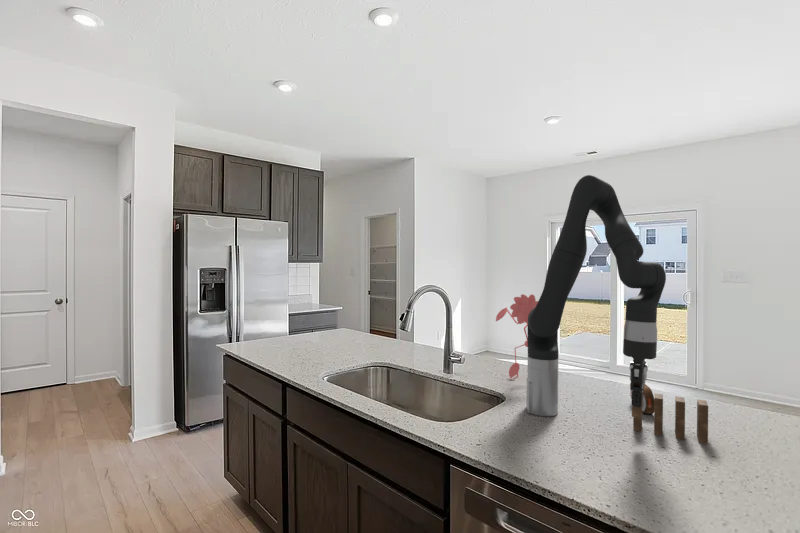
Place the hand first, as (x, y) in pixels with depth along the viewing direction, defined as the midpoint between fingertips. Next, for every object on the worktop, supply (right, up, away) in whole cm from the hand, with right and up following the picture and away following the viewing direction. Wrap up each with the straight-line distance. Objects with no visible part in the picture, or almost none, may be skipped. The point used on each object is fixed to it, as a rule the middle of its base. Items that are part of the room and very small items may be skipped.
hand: (637, 403), depth 109 cm
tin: (+17, -11, +27) cm, 34 cm away
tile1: (+6, -11, +11) cm, 16 cm away
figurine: (-12, -11, +58) cm, 60 cm away
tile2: (+10, -11, +8) cm, 17 cm away
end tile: (0, -3, 0) cm, 3 cm away
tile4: (+19, -11, +3) cm, 22 cm away
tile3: (+15, -11, +6) cm, 19 cm away
